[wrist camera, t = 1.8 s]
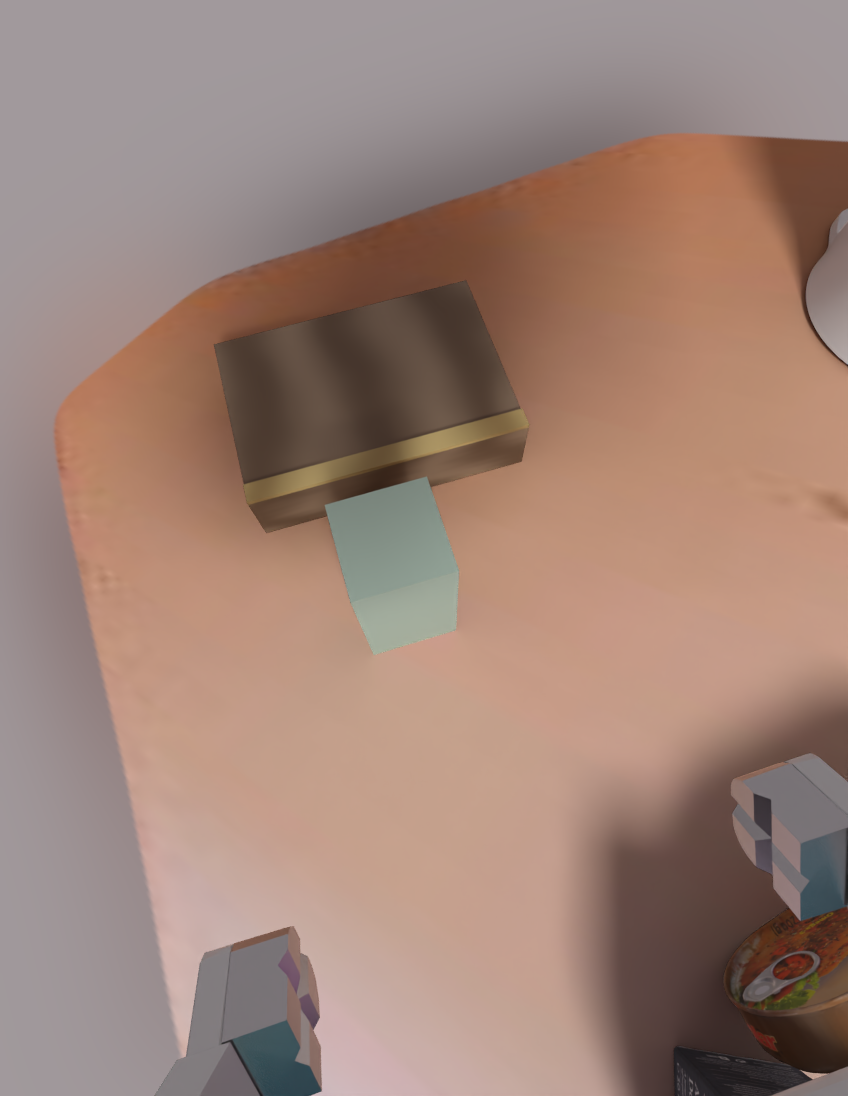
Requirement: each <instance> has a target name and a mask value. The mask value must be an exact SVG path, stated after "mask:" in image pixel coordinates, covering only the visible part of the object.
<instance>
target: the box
mask: <svg viewBox="0 0 848 1096" xmlns="http://www.w3.org/2000/svg"><path fill="white" fill-rule="evenodd" d="M811 1080H812V1079H811V1078H809V1077H808V1076H807V1075H805V1074H804V1073H803V1072H802V1071H800V1070H799V1069H796V1068H794V1067H792V1066H790V1065H786V1064H779V1063H774V1062H769V1061H764V1060H758V1059H751V1058H745V1057H737V1056H732V1055H727V1054H721V1053H715V1052H708V1051H703V1050H696V1049H691V1048H685V1047H681V1046H677V1047H675V1048H674V1086H675V1096H771V1095H774V1094H776V1093H779V1092H782V1091H784V1090H787V1089H790V1088H792V1087H795V1086H798V1085H800V1084H803V1083H806V1082H808V1081H811Z"/></svg>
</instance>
